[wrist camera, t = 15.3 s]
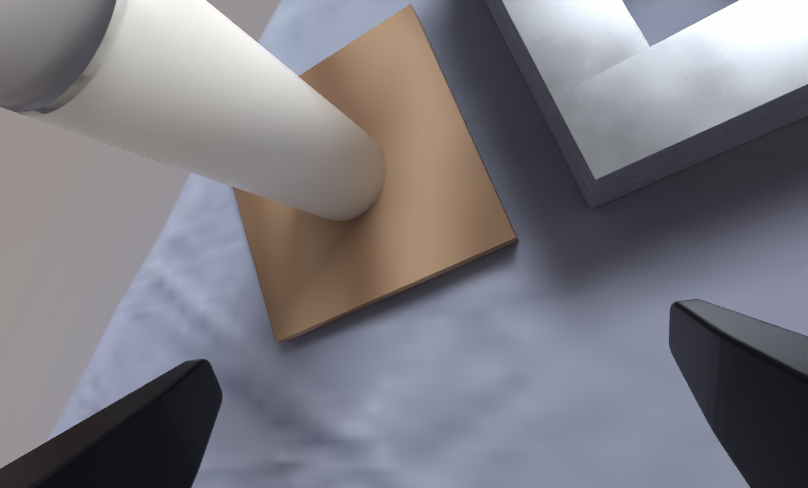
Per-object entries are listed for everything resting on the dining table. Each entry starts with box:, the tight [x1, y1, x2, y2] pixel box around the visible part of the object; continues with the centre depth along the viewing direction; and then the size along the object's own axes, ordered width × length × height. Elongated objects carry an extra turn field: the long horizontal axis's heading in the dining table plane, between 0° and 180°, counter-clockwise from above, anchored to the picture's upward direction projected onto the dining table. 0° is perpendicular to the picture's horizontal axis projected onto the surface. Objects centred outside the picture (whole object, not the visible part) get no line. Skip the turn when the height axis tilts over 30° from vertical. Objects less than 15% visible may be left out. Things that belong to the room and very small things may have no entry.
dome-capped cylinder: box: [0, 0, 386, 221], centre depth 14 cm, size 4×4×13 cm
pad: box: [233, 4, 519, 342], centre depth 21 cm, size 12×12×1 cm
